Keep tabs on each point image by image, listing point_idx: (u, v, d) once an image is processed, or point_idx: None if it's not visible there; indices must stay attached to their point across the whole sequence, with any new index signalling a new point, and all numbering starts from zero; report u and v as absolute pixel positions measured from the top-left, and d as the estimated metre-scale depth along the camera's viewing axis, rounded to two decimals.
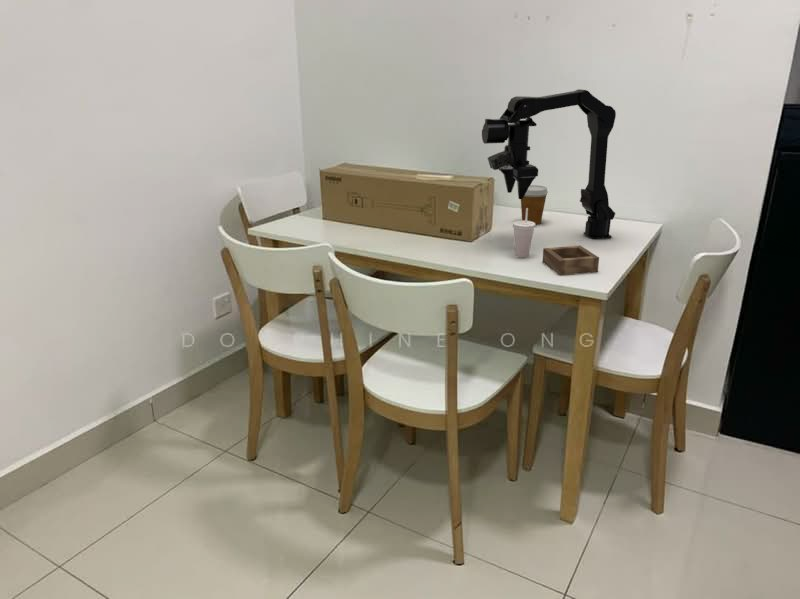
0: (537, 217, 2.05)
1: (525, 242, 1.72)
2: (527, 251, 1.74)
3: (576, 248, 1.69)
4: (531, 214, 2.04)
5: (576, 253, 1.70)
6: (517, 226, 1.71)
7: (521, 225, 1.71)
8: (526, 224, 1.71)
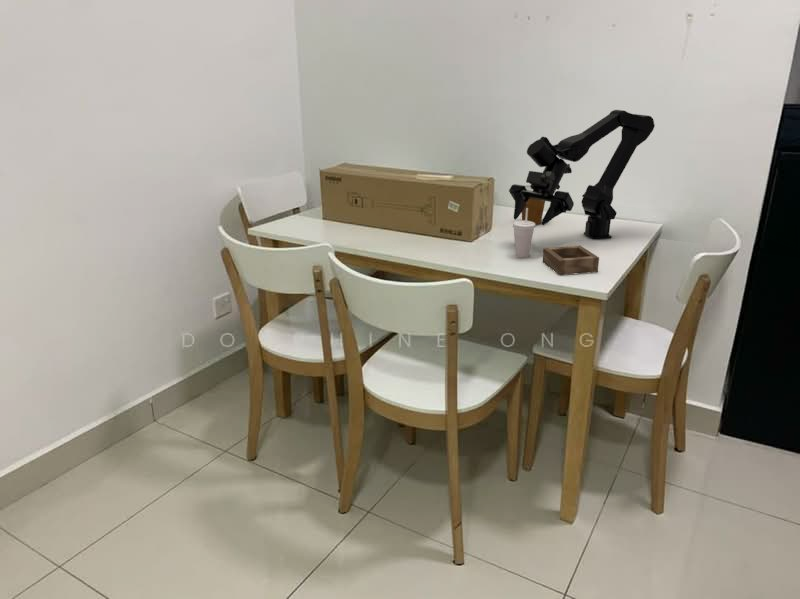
0: (537, 217, 2.05)
1: (525, 242, 1.72)
2: (527, 251, 1.74)
3: (576, 248, 1.69)
4: (531, 214, 2.04)
5: (576, 253, 1.70)
6: (517, 226, 1.71)
7: (521, 225, 1.71)
8: (526, 224, 1.71)
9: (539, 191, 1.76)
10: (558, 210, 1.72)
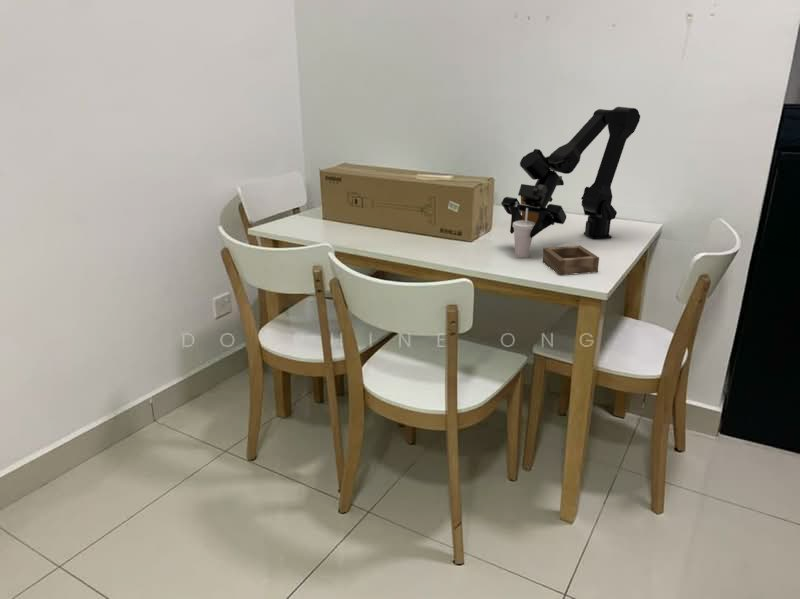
0: (537, 217, 2.05)
1: (525, 242, 1.72)
2: (527, 251, 1.74)
3: (576, 248, 1.69)
4: (531, 214, 2.04)
5: (576, 253, 1.70)
6: (517, 226, 1.71)
7: (521, 225, 1.71)
8: (526, 224, 1.71)
9: (531, 204, 1.75)
10: (546, 222, 1.72)
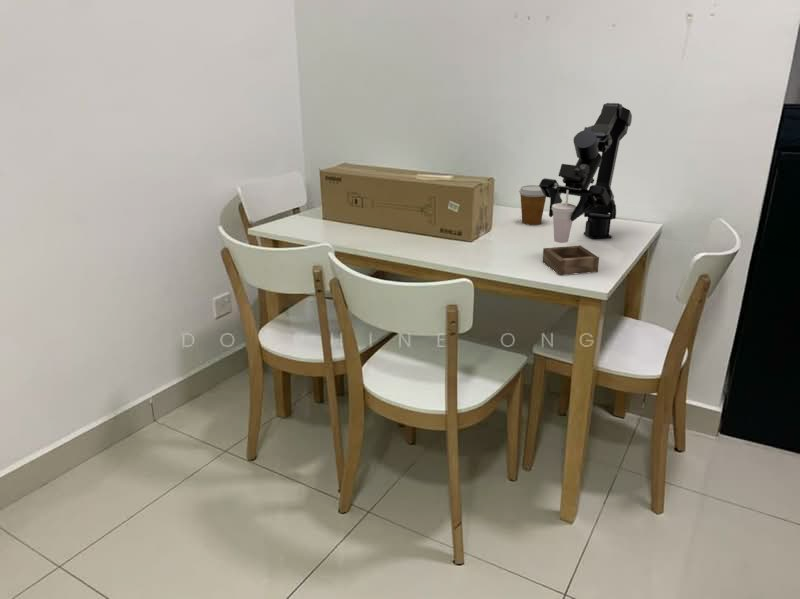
0: (537, 217, 2.05)
1: (565, 226, 1.62)
2: (567, 236, 1.64)
3: (576, 248, 1.69)
4: (531, 214, 2.04)
5: (576, 253, 1.70)
6: (557, 209, 1.61)
7: (561, 208, 1.61)
8: (566, 207, 1.61)
9: (572, 185, 1.65)
10: (588, 205, 1.62)
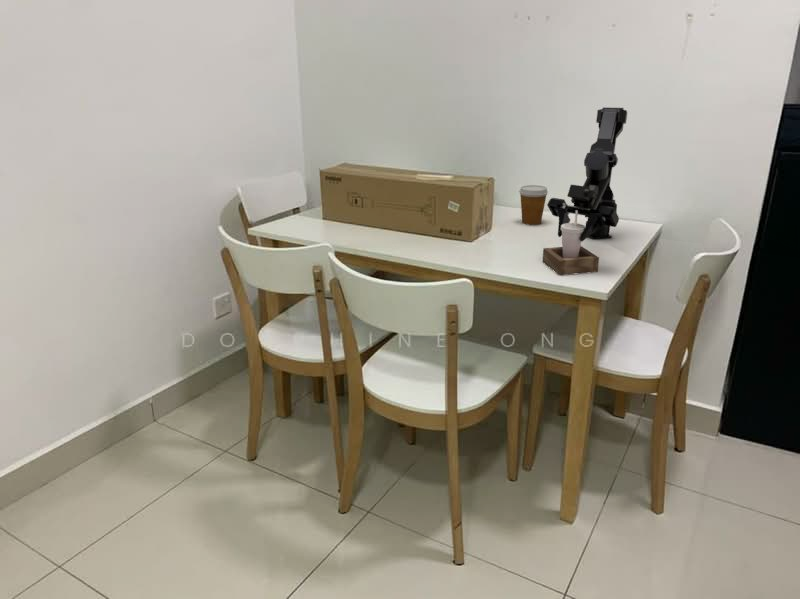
0: (537, 217, 2.05)
1: (574, 246, 1.62)
2: (576, 256, 1.64)
3: None
4: (531, 214, 2.04)
5: None
6: (566, 229, 1.61)
7: (570, 228, 1.61)
8: (576, 227, 1.61)
9: (580, 205, 1.65)
10: (597, 225, 1.62)
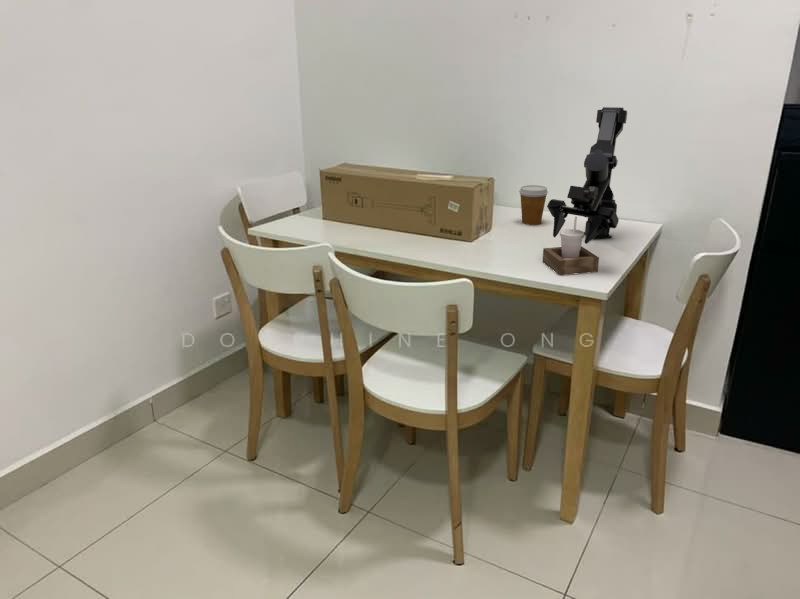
0: (537, 217, 2.05)
1: (573, 253, 1.63)
2: None
3: None
4: (531, 214, 2.04)
5: None
6: (565, 236, 1.61)
7: (570, 235, 1.61)
8: (575, 233, 1.62)
9: (580, 207, 1.65)
10: (602, 227, 1.61)
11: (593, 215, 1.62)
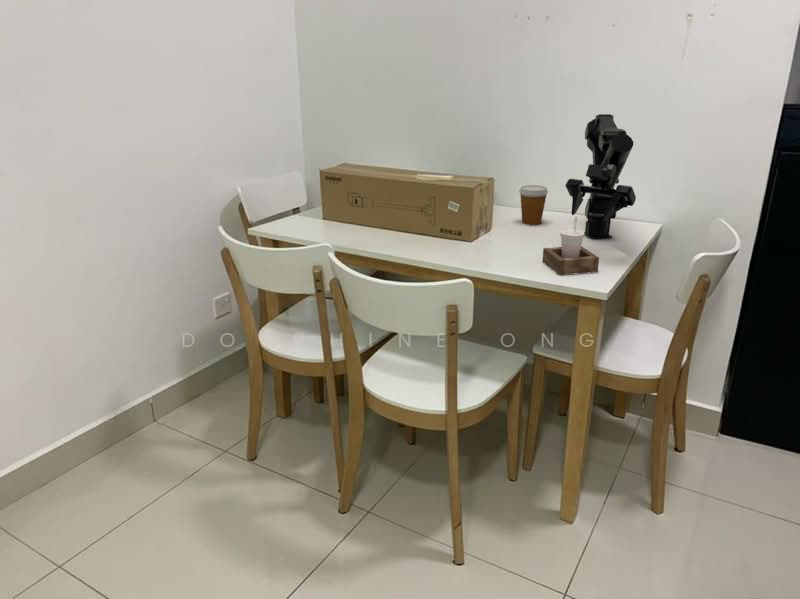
0: (537, 217, 2.05)
1: (573, 252, 1.63)
2: None
3: None
4: (531, 214, 2.04)
5: None
6: (565, 235, 1.61)
7: (570, 234, 1.61)
8: (575, 233, 1.62)
9: (598, 185, 1.70)
10: (619, 205, 1.66)
11: (611, 193, 1.66)
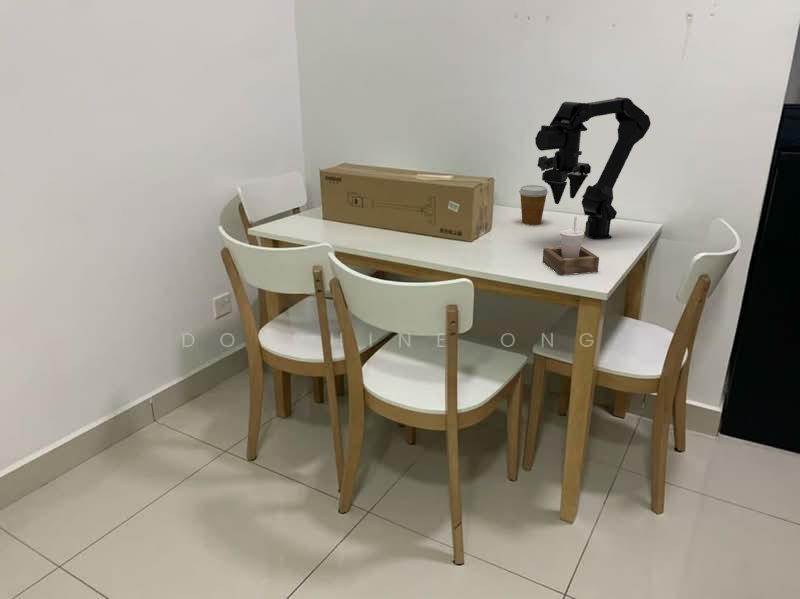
0: (537, 217, 2.05)
1: (573, 252, 1.63)
2: None
3: None
4: (531, 214, 2.04)
5: None
6: (565, 235, 1.61)
7: (569, 234, 1.61)
8: (575, 233, 1.62)
9: None
10: (559, 185, 1.74)
11: None
